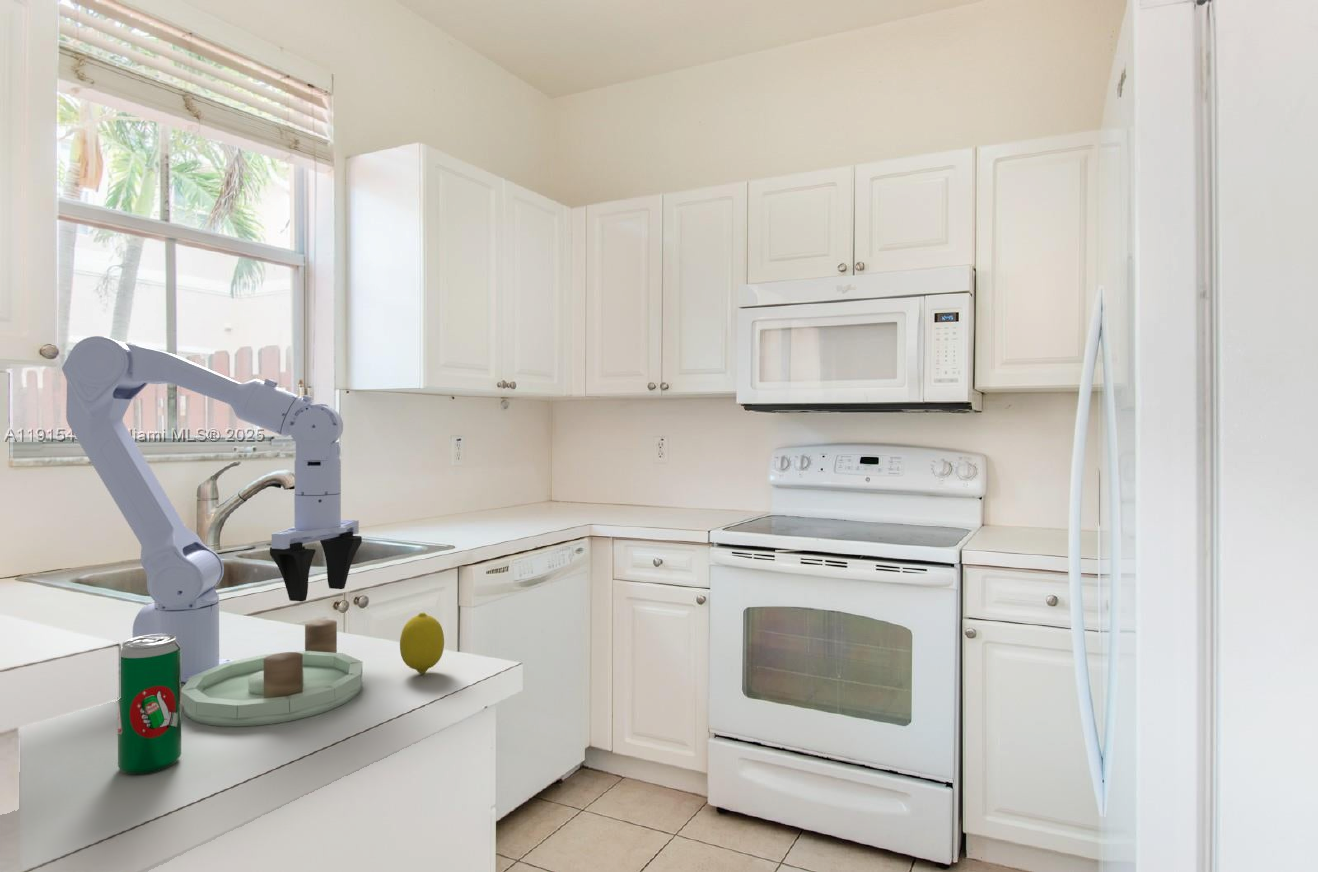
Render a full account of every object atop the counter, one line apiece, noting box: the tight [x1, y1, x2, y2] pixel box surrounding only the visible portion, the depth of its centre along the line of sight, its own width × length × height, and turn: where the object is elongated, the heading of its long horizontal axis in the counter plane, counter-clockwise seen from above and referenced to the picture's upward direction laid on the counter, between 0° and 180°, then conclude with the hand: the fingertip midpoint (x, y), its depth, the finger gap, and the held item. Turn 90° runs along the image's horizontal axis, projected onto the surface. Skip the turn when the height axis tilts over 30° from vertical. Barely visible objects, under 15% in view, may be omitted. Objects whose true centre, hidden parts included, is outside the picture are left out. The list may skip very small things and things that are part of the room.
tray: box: [181, 650, 363, 727], centre depth 93 cm, size 19×19×2 cm
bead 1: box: [264, 651, 303, 699], centre depth 88 cm, size 4×4×5 cm
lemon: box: [399, 612, 445, 675], centre depth 101 cm, size 6×6×8 cm
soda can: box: [117, 634, 182, 776], centre depth 74 cm, size 5×5×12 cm
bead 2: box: [304, 619, 338, 653], centre depth 106 cm, size 4×4×5 cm
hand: (317, 594), depth 105 cm, fingers open, 7 cm apart
